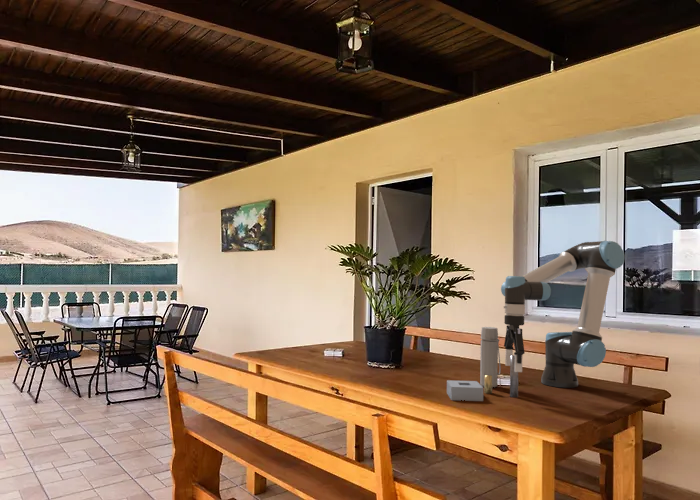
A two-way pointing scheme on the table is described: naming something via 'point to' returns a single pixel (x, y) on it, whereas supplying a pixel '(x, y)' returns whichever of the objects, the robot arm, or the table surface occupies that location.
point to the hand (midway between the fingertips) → (513, 368)
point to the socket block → (464, 390)
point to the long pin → (513, 378)
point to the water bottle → (489, 355)
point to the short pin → (488, 384)
